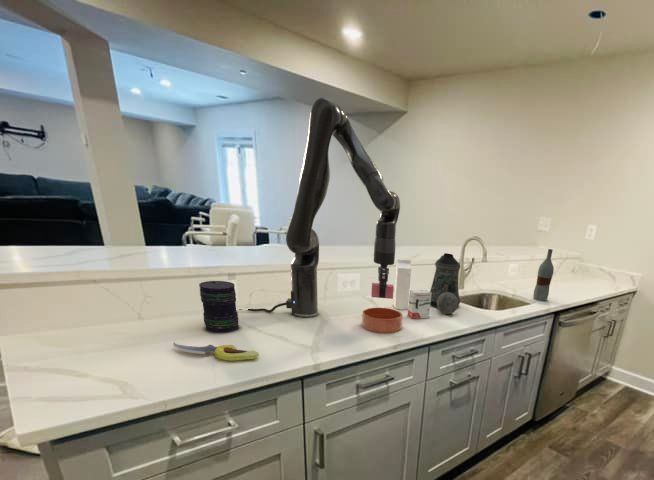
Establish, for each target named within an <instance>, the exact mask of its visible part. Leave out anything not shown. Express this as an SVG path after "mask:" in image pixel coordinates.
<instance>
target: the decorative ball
mask: <svg viewBox="0 0 654 480" xmlns="http://www.w3.org/2000/svg"><path fill="white" fill-rule="evenodd" d="M437 307H438V308H437V309H438V310H439V312H441V313H442V314H444V315H451V314H453V313H454V312H456V311H457V310H458V308H459V306H458V299H457V297H456V296H455V295H454V294H452V293H449V292H446V293H443V294H441V295H440V296H439V297H438V299H437ZM457 307H458V308H457Z"/></svg>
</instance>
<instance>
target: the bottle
mask: <svg viewBox="0 0 654 480" xmlns="http://www.w3.org/2000/svg"><path fill="white" fill-rule="evenodd" d="M553 250H554V249H552V248H548V249H547V254H546V258H545V259H544V260H543V261H542V263H540V265H539V267H538V270H537V278H536V284H535V287H534V289H533V297H532V298H533V300H535V301H539V302H546V301H548V297H549V295H550V285H551V282H552V278H553V276H554V269H555V268H554V264H553V261H552V254H553Z"/></svg>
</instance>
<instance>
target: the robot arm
mask: <svg viewBox="0 0 654 480" xmlns="http://www.w3.org/2000/svg"><path fill="white" fill-rule="evenodd" d="M309 114H310V115H309V125H308V136H307V142H306V147H305V151H304V157H303V163H302V167H301V172H300V176H299V181H298V186H297V193H296V196H295V197H296V198H295V203H294V209H293V212H292V215H291V219H290V222H289V225H288V227H287V228H288V229H287V231H286V236H285V244H286V246H287V248H288V249H289V251H290V252H291V253H293V254H294V256H293V259H292V261H291V263H290V276H291V277H290V278H291V290H290V298H287V299H286V301H285V302H282V303H278V304H276V305H274V306H273V307H272V308H270V309H267V308H251V309H248V310H246V311H247V312H265V313H269V314H270V313H273V312H274V311H275V310H276V309H277V308H280V307H284V306H285V308H286V309H291V316H295V317H299V318H313V317H317V316H318V315H319V309H318V308H319V305H318V267H319V261H320V239H319V236H318V234H317V232H316V231H315V230H314V229H313V224H314V220H315V218H316V216H317V214H318V212H319V210H320V208H321V207H322V205H323V204H324V201H325V200H326V196H327V194H328V189H329V185H330V181H331V168H330V160H329V159H330V158H329V152H330V151H329V150H330V144H331V140H332V137H333V138H334V139H335V140H336V141H337V142H338V143H339V144H340V146H341V147H342V149H343V151H344V153H346V156H347V158H348V161H349V162H350V163H349V164H350V165H351V168H352V170H353V171H354V173H355V174H356V176H357V177H358V179H359V180H360V182H361V184H362V185H363V186H364V187H365V189H366V192H367V193H368V196H369V198H370V201H371V202H372V203H373V205H374V207H375V208H376V209H377V210H378V211H379V212H380V215H379V219H377V221H376V223H375V237H374V244H373V245H374V246H373V263H375V264H376V265H380V266H378V267H377V273H378V275H377V276H378V277H377V280H378V283H379V284H380V285H379V288H380V290H379V297H380V298H379V299H386V298H385V291H386V287H387V286H386V284H388V281H389V275H390V268H388V266H393V265H395V258H396V245H397V244H396V236H397V235H396V234H397V223H398V220H399V215H400V211H401V199H400V197H399V195H398V194H397V193H395V192H394V191H392V190H388V188H387V187H386V186H387V185H385V183H384V177H383V175H382V173H381V171H380V170H379V168H378V167H377V166H376V164H375V163H374V161H373V159H371V157H370V156H369V154H368V152H367V151H366V149H365V148H364V146H363V144H362V143H361V141H360V139H359V137H358V135H357V134H356V132H355V130H354V129H353V126H352V124H351V122H350V120H349V117H348V115H347V113H346V111H345V110H344V108H343V107H342V106H341V105H339V104H338V103H336V102H335V101H333V100H331V99H329V98H328V97H318V98H317V99H316V100H315V101H314V102H313V104H312V106H311V109H310V113H309ZM240 310H241V311H243V310H242V309H239V310H238V311H240Z"/></svg>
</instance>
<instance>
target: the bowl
mask: <svg viewBox="0 0 654 480" xmlns="http://www.w3.org/2000/svg"><path fill="white" fill-rule="evenodd" d="M361 316H362V320H361V325H362V327H363V328H364V329H365V330H367V331H370V332H373V333H377V334H378V333H380V334H392V333H396V332H399V331H400V330H401V329H402V326H403V313H402V312H401V311H399V310H398V309H393V308H387V307H368V308H366V309H364V310H362V315H361Z"/></svg>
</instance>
